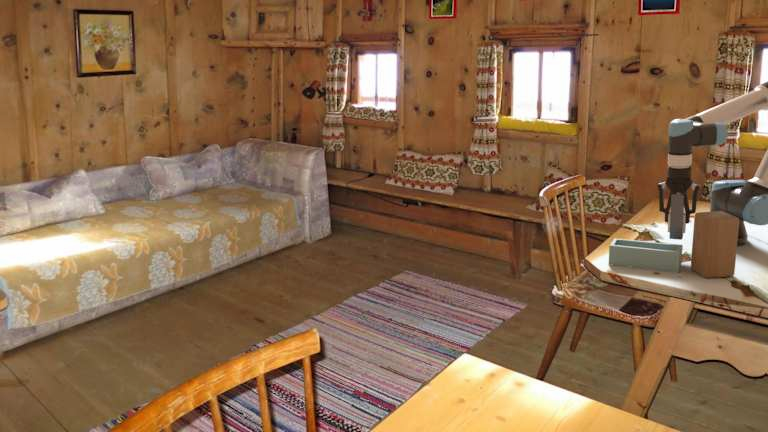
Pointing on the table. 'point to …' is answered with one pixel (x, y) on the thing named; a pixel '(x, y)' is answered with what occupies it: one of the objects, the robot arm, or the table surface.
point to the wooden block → (714, 244)
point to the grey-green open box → (646, 255)
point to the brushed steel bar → (676, 216)
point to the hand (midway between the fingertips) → (676, 231)
